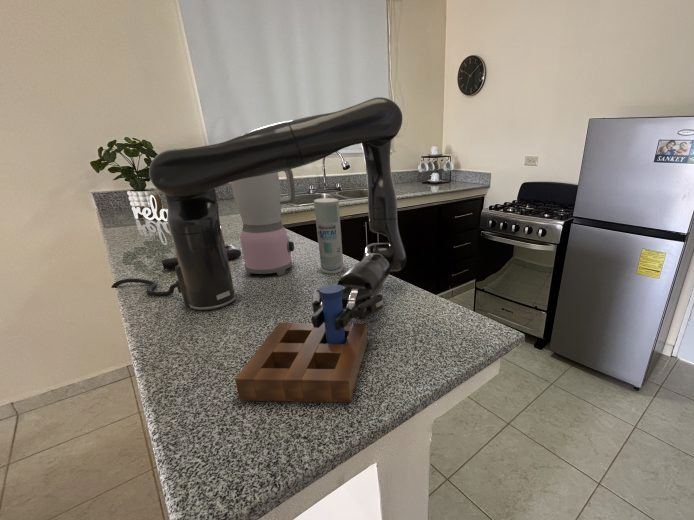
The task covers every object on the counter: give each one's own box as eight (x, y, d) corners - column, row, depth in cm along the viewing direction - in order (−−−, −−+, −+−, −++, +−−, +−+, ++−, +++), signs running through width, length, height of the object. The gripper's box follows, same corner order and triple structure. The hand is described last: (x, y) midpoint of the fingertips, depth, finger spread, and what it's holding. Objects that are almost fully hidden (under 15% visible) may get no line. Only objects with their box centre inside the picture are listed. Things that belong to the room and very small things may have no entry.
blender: (239, 278, 93) (213, 152, 81) (253, 263, 104) (232, 150, 92) (300, 276, 96) (284, 153, 84) (307, 261, 107) (294, 150, 95)
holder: (239, 401, 51) (234, 378, 50) (282, 340, 66) (279, 322, 65) (350, 402, 51) (348, 380, 50) (367, 342, 66) (366, 323, 65)
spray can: (345, 265, 104) (339, 198, 97) (342, 273, 99) (337, 202, 91) (322, 265, 104) (315, 198, 96) (319, 273, 98) (311, 202, 90)
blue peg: (323, 356, 60) (315, 293, 55) (329, 344, 63) (322, 283, 59) (345, 356, 60) (339, 293, 55) (350, 344, 63) (345, 283, 59)
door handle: (158, 250, 106) (161, 262, 94) (231, 240, 118) (241, 249, 106) (161, 260, 108) (164, 273, 96) (233, 249, 119) (244, 259, 107)
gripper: (328, 263, 71) (282, 299, 56) (395, 268, 69) (366, 307, 54) (331, 296, 74) (288, 339, 59) (396, 302, 72) (369, 348, 56)
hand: (326, 323), depth 56 cm, fingers closed on blue peg, 3 cm apart
